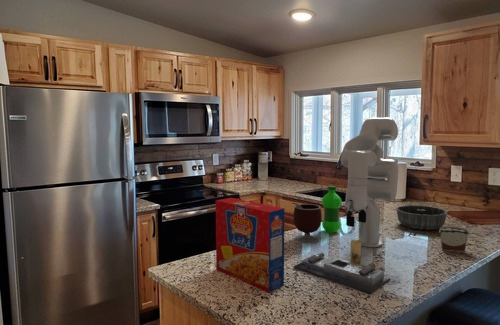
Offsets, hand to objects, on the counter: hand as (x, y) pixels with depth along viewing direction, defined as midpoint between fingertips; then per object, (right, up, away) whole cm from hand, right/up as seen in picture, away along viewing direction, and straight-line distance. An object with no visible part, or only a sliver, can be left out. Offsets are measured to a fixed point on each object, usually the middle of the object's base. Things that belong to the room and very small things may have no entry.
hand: (356, 224), depth 140 cm
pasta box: (-43, -19, -9) cm, 48 cm away
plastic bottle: (+2, -13, +50) cm, 52 cm away
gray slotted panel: (-8, -18, -6) cm, 21 cm away
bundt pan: (+55, -12, +60) cm, 82 cm away
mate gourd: (-15, -15, +35) cm, 41 cm away
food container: (+51, -16, +22) cm, 58 cm away
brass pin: (0, -17, +2) cm, 17 cm away
